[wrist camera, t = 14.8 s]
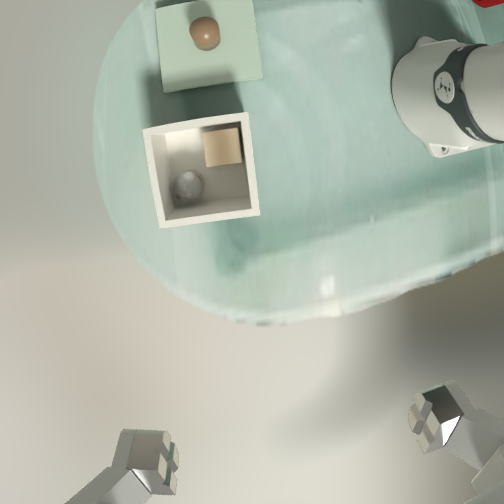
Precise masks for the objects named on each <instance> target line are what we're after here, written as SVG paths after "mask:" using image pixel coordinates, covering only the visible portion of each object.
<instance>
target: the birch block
mask: <svg viewBox="0 0 504 504" xmlns="http://www.w3.org/2000/svg"><path fill="white" fill-rule="evenodd" d="M202 138H203V145H204V152H205V159H206V166H207V167H212V166H219V165H227V164H234V163H242V159H241V151H240V143H239V135H238V128H232V129H225V130H218V131H211V132H204V133H202Z"/></svg>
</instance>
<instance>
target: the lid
mask: <svg viewBox="0 0 504 504" xmlns="http://www.w3.org/2000/svg"><path fill="white" fill-rule="evenodd" d="M155 11H156V24H157V36H158V47H159V57H160V67H161V76H162V85H163V92H164V93H170V92H175V91H181V90H186V89H192V88H198V87H204V86H211V85H217V84H225V83H233V82H241V81H251V80H262V79H263V74H262V66H261V59H260V51H259V44H258V36H257V29H256V22H255V15H254V8H253V2H252V0H198V1H192V2H186V3H181V4H175V5H171V6H166V7H161V8H157V9H155Z"/></svg>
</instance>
